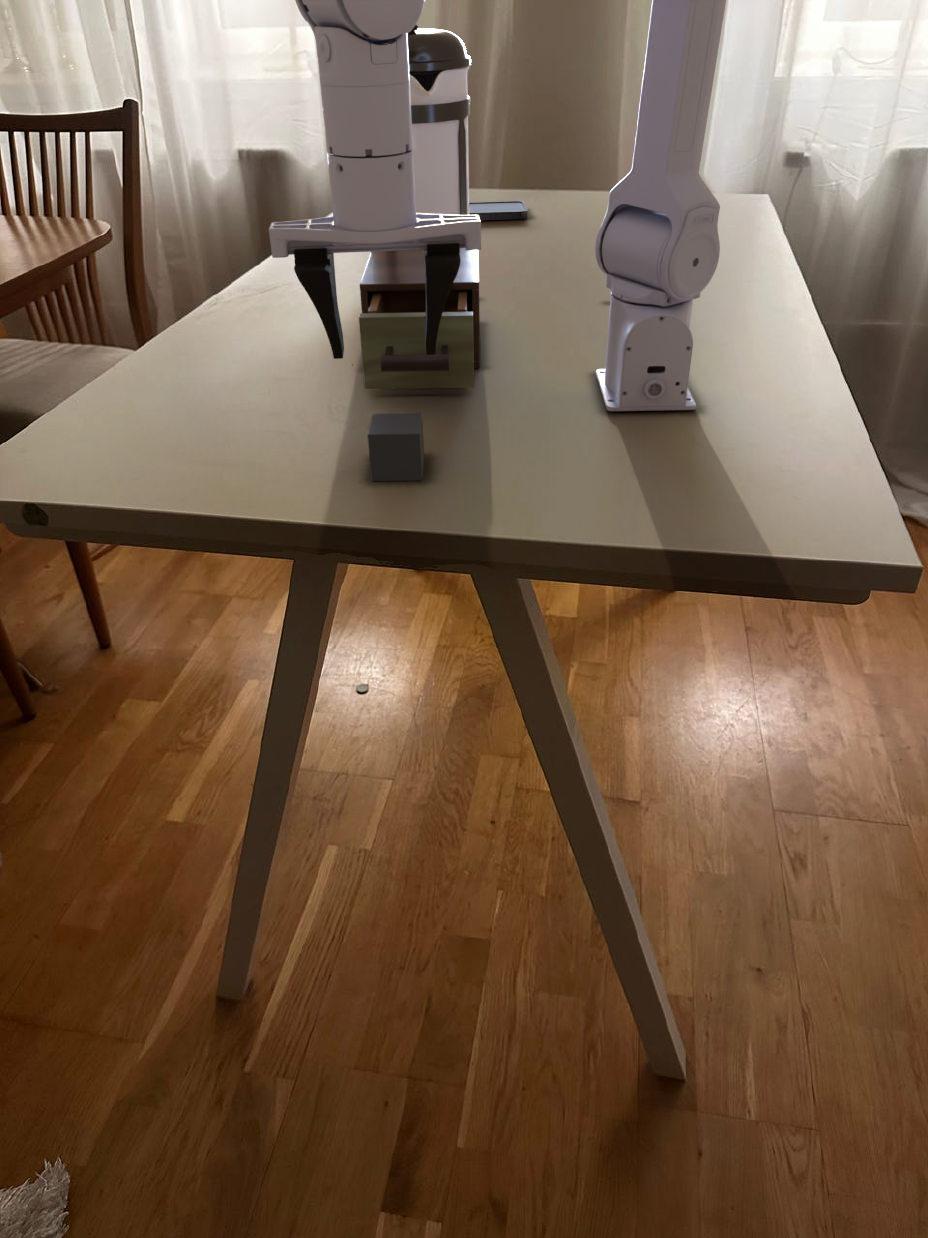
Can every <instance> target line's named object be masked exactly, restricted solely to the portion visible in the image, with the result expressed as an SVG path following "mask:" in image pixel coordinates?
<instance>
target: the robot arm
mask: <svg viewBox="0 0 928 1238" xmlns="http://www.w3.org/2000/svg"><path fill="white" fill-rule="evenodd" d="M294 1H295V3H296V6H297V9H298V11H299V13H300V15H301V16H302V18H303V19H304V21H305V22H306V23H307V24H308V26H309V27H310V29H311V31H312V33H313V35H314V39H315V48H316V55H317V56H316V57H317V64H318V77H319V78H318V79H319V86H320V87H319V88H320V97H321V107H322V117H323V126H324V136H325V148H326V157H327V167H328V178H329V188H330V197H331V199H330V200H331V208H332V216H325V217H324V216H323V217H316V218H307V219H298V220H288V221H273V222H271V223H270V225H269V227H268V235H269V236H268V237H269V241H270V250H271V257H272V258H273V259H278V258H279V259H280V258H288V257H289V255H290V256H291V255H293V256H294V267H293V270H294V273H295V276H296V277H297V279H298V281H299V283H300V284H301V286H302V287H303V289H304V291H305V292H306V293H307V295H308V297H309V299H310V300H311V302H312V304H313V306H314V308H315V310H316V312H317V314H318V316H319V318H320V321H321V323H322V325H323V327H324V330H325V333H326V335H327V338H328V342H329V344H330V348H331V352H332V357H333V359H334V360H338V359H340V360H341V359H344V353H345V344H344V333H343V328H342V322H341V316H340V309H339V305H338V294H337V282H336V270H335V268H336V267H335V255H334V254H344V253H346V254H347V253H368V252H369V253H370V252H373V251H399V250H424V268H425V288H426V315H425V344H426V355H434V354H436V341H437V334H438V329H439V324H440V320H441V316H442V313H443V309H444V306H445V303H446V300H447V297H448V294H449V292H450V289H451V287H452V284H453V282H454V280H455V278H456V276H457V273H458V270H459V267H460V263H461V258H460V248H465V249H466V250H479V251H481V250H482V222H481V221H482V220H480V218H479V215H445V214H422V213H416V199H415V178H414V158H413V141H412V120H411V99H410V76H409V57H408V36H407V33H409V32H411V30H412V29H413V28H414V26H415V25H417V23H418V21H419V20H420V17H421V15H422V12H423V9H424V5H425V2H426V1H427V0H294ZM726 5H727V0H651V9H650V16H649V25H648V34H647V41H646V50H645V57H644V67H643V73H642V74H643V75H642V82H641V92H640V99H639V107H638V116H637V122H636V123H637V124H636V133H635V139H634V149H633V157H632V165H631V170H630V171H629V172H628V173H627V174H626V176H624V177H623V178H622V179H621V180H619V182H618V183H616V184H615V186H613V188H611V190H610V191H609V193H608V203H607V209H606V212H605V216H604V218H603V221H602V223H601V224H600V227H599V229H598V232H597V235H596V239H595V247H594V251H595V252H594V253H595V260H596V263H597V265H598V268H599V270H600V271H601V272H602V273H603V274H604V275H605V276H606V285H605V287H606V288H607V289H610V301H609V302H610V303H609V304H610V305H609V314H608V315H609V317H608V328H607V340H606V341H607V342H606V346H607V347H606V354H605V355H606V356H605V368H598V369H596V371H595V375H596V378H597V383H598V386H599V389H600V392H601V396H602V398H603V399H602V400H603V402H604V405H605V408H606V410H607V411H608V412H649V411H651V412H652V411H657V412H658V411H659V412H660V411H661V412H662V411H694V410H696V409H697V403H696V401H695V399H694V397H693V395H692V393H691V391H690V389H689V381H690V380H689V379H690V373H691V364H692V358H693V349H694V337H693V334H692V331H691V327H690V325H691V318H692V312H693V311H692V310H693V302H694V300H696V299H699V298H701V293H702V292H703V291H704V290H705V288H707V286H708V285H709V283H710V282H711V280H712V278H713V276H714V275H715V273H716V270H717V267H718V264H719V261H720V260H719V259H720V252H721V251H720V250H721V243H720V238H719V237H720V236H719V229H718V228H719V227H718V224H719V216H720V210H721V205H720V203H719V201H718V199H717V198H716V196H714V195H715V194H713V193H712V191H711V189H710V188H709V187H708V186H707V184H706V183H705V181H704V180H703V178H702V176H701V175H700V166H701V161H702V154H703V148H704V142H705V135H706V130H707V123H708V117H709V111H710V105H711V104H710V103H711V99H712V92H713V87H714V86H713V85H714V79H715V73H716V67H717V62H718V61H717V59H718V54H719V48H720V42H721V36H722V29H723V23H724V17H725V10H726Z"/></svg>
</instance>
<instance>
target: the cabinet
mask: <svg viewBox="0 0 928 1238" xmlns="http://www.w3.org/2000/svg"><path fill="white" fill-rule="evenodd" d="M479 252H480V250H466V249H465V248H460V258H461V263H460V267H459V270H458V273H457V276H456V278H455V280H454V282H453V284H452V287H451V289H450V290H467V305H468V312H473V348H474V369H480V368H481V333H480V329H481V328H480V327H481V326H480V325H481V324H480V323H481V322H480V319H481V317H480V256H479V254H480V253H479ZM421 290H426V288H425V268H424V250H399V251H373V252H371V254H370V253H369V257H368V260H367V262H366V266H365V268H364V271H363V274H362V277H361V279H360V282H359V291H360V292H359V294H360V295H359V296H360V305H361V306H360V307H361V314H364V313H368V310H369V307H370V304H371V300H372V297H373V294H374V291H421Z"/></svg>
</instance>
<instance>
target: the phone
mask: <svg viewBox="0 0 928 1238" xmlns="http://www.w3.org/2000/svg"><path fill="white" fill-rule="evenodd" d="M528 213H529V212H528V207H527V206H526V203H525V201H523V200H506V201H475V202H473V201H472V202H470V201H469V215H479V218H480V221H499V220H525V219H527V218H528V215H529V214H528Z"/></svg>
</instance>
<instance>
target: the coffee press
mask: <svg viewBox="0 0 928 1238" xmlns="http://www.w3.org/2000/svg"><path fill="white" fill-rule="evenodd" d="M407 36H408V57H409V76H410V99H411V120H412V141H413V158H414V178H415V199H416V213H422V214H445V215H469V203H470V166H469V165H470V164H469V163H470V162H469V161H470V160H469V159H470V157H469V156H470V155H469V117H470V115H471V97H470V96H469V95H468V72H469V70H470V67H471V65H472V64H471V63H472V59H471V56H470V55H468V54H467V50H466V49H467V48H466V46H465V43H464V42H463V40H462V39H461V38H460V37H459V36H458V35H456V34H455V33H453V32H452V31H449V30H445V29H438V28H419V26H418V25H417V24H416V25H415V26H414V28H413V29H412V30H411V32H409V33H407ZM370 254H371V252H369V255H370Z"/></svg>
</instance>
